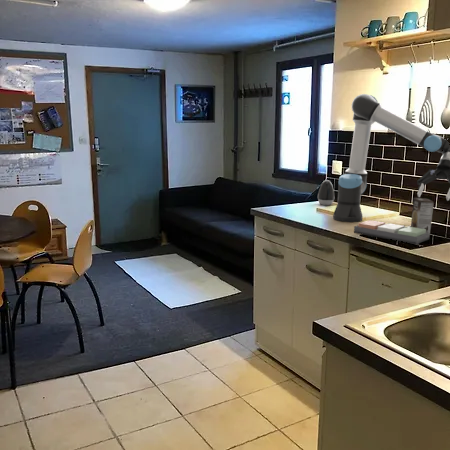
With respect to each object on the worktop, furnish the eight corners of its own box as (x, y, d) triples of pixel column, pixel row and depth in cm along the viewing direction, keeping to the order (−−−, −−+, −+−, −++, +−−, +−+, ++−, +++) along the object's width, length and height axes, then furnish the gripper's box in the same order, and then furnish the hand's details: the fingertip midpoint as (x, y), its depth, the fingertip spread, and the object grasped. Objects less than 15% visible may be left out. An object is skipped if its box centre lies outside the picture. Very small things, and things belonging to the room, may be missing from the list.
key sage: (397, 235, 216) (398, 230, 216) (408, 231, 224) (408, 226, 224) (415, 238, 211) (415, 233, 210) (425, 234, 219) (426, 229, 218)
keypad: (353, 232, 230) (354, 226, 229) (367, 228, 239) (368, 222, 239) (416, 244, 210) (417, 237, 209) (429, 239, 219) (429, 232, 219)
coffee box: (409, 230, 236) (413, 197, 232) (423, 231, 235) (426, 197, 232) (416, 235, 227) (419, 200, 223) (430, 235, 227) (434, 201, 223)
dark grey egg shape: (317, 205, 300) (318, 180, 297) (317, 202, 310) (318, 178, 307) (334, 206, 298) (336, 181, 295) (333, 203, 308) (335, 179, 305)
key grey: (377, 231, 223) (377, 226, 222) (388, 227, 231) (388, 223, 230) (394, 234, 217) (394, 229, 217) (404, 230, 225) (405, 225, 225)
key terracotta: (358, 227, 229) (358, 223, 229) (369, 224, 237) (369, 220, 236) (374, 230, 224) (374, 226, 223) (385, 227, 232) (385, 222, 231)
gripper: (475, 170, 236) (461, 205, 228) (423, 166, 252) (408, 198, 245) (473, 160, 231) (458, 195, 223) (420, 156, 247) (405, 189, 240)
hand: (432, 197), depth 234 cm, fingers open, 13 cm apart
